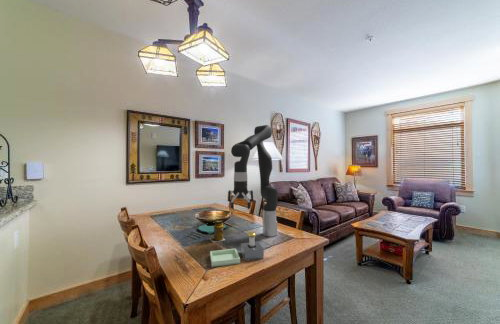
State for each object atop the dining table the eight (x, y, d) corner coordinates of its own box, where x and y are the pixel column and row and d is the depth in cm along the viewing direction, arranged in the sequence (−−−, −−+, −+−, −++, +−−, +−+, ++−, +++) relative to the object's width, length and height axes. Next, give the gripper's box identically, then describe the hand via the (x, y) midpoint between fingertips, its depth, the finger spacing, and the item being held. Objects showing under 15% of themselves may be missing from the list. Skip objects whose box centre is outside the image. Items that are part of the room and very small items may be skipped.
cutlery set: (230, 228, 155) (230, 225, 155) (197, 241, 132) (197, 238, 132) (213, 223, 168) (213, 220, 168) (180, 234, 144) (180, 231, 144)
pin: (254, 253, 114) (254, 231, 114) (256, 256, 110) (256, 234, 110) (247, 254, 113) (247, 232, 113) (248, 257, 109) (248, 235, 109)
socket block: (258, 250, 118) (258, 241, 118) (263, 258, 108) (263, 249, 108) (240, 252, 115) (240, 243, 115) (245, 260, 105) (245, 251, 105)
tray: (235, 252, 114) (235, 248, 114) (240, 263, 103) (240, 258, 103) (210, 255, 111) (210, 251, 111) (211, 267, 99) (211, 262, 99)
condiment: (225, 240, 133) (225, 221, 133) (213, 242, 128) (213, 223, 128) (220, 236, 139) (220, 218, 139) (208, 239, 134) (208, 220, 134)
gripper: (253, 179, 119) (253, 207, 119) (228, 179, 119) (228, 207, 119) (253, 180, 111) (253, 210, 112) (227, 180, 111) (227, 210, 112)
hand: (240, 208), depth 115 cm, fingers open, 8 cm apart
